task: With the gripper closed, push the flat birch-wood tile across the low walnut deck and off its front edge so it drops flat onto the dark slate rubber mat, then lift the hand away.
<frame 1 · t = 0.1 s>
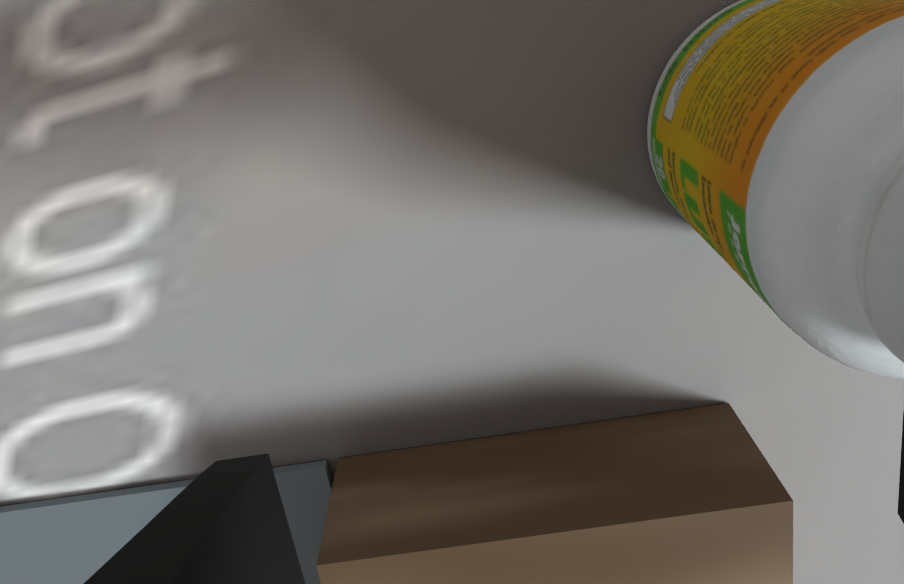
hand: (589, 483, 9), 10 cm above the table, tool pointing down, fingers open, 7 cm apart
supplement bottle: (761, 118, 18), on the table
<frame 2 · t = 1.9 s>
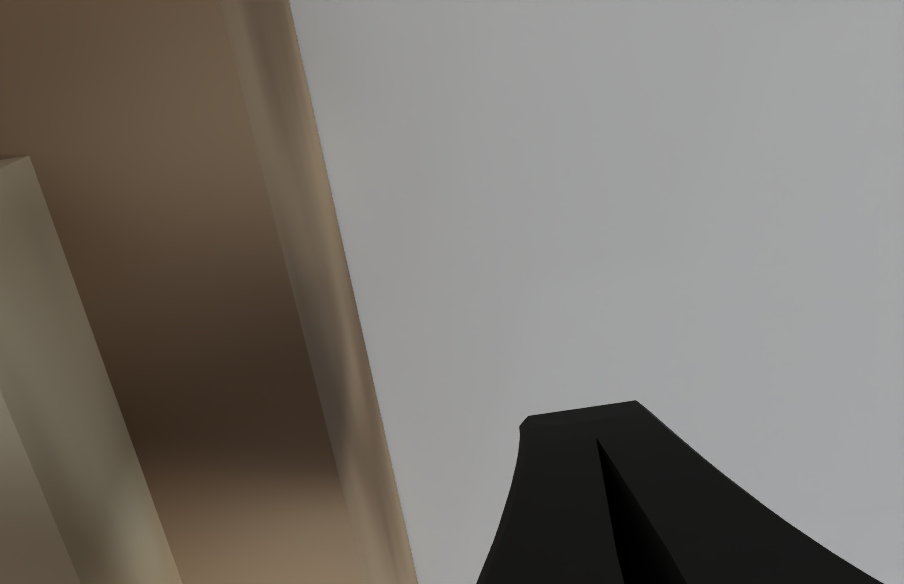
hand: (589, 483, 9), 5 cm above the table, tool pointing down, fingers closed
walnut deck: (87, 376, 14), on the table
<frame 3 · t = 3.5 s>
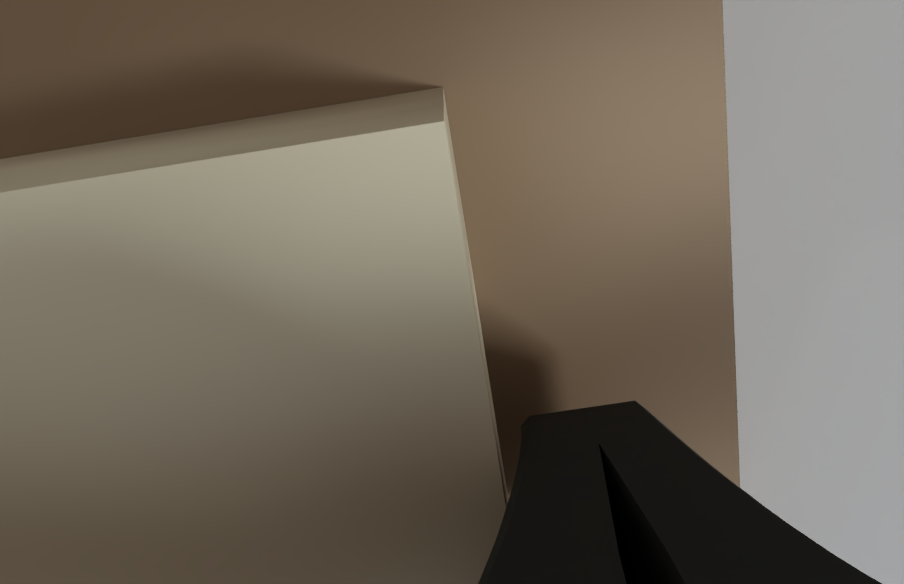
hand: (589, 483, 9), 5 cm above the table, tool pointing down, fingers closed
birch tile: (265, 484, 10), point 4 cm above the table, touching gripper
walnut deck: (365, 339, 14), on the table
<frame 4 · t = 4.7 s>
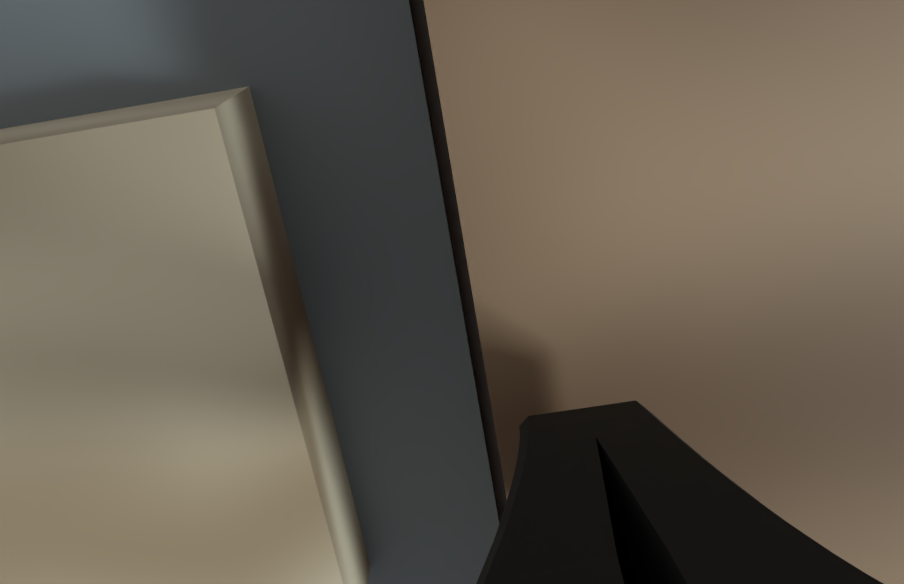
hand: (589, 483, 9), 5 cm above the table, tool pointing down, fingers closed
birch tile: (99, 445, 12), point 2 cm above the table, tilted 180°, touching slate mat
slate mat: (131, 376, 14), on the table
walnut deck: (777, 276, 14), on the table
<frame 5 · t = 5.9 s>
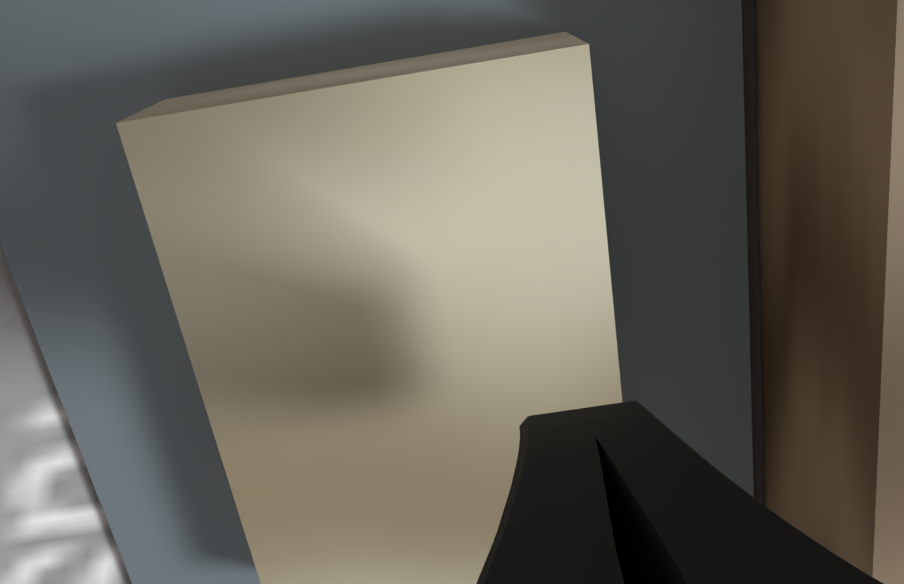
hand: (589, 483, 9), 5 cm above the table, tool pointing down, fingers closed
birch tile: (412, 397, 12), point 2 cm above the table, tilted 180°, touching slate mat
slate mat: (397, 334, 14), on the table
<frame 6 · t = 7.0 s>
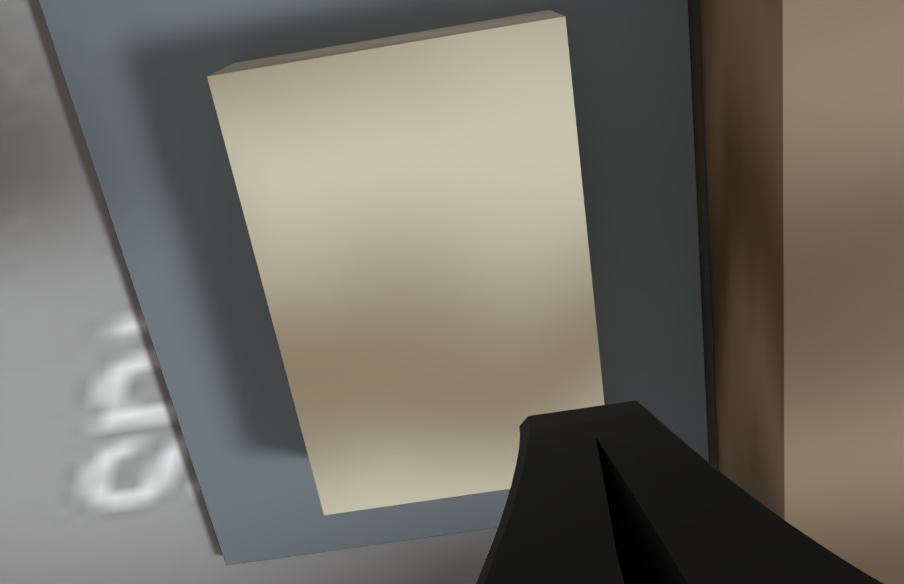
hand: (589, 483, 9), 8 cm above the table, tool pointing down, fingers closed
birch tile: (430, 295, 15), point 2 cm above the table, tilted 180°, touching slate mat
slate mat: (414, 257, 17), on the table
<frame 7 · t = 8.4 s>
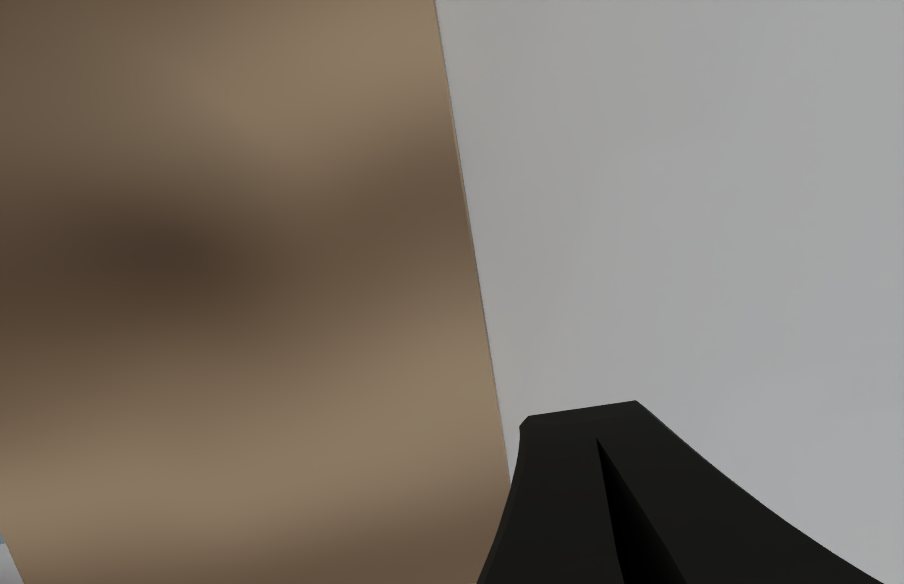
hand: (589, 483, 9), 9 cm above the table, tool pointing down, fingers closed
walnut deck: (241, 231, 18), on the table
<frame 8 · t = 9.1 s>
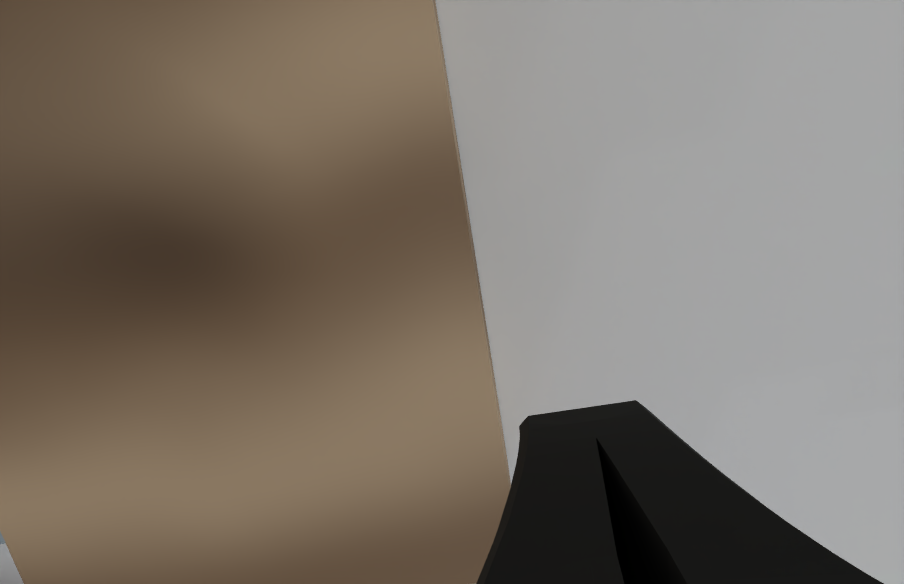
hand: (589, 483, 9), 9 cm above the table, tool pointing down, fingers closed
walnut deck: (241, 231, 18), on the table
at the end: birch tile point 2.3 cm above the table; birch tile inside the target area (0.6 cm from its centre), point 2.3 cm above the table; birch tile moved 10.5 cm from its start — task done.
